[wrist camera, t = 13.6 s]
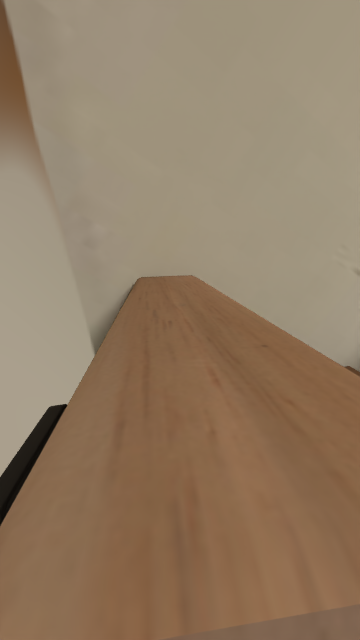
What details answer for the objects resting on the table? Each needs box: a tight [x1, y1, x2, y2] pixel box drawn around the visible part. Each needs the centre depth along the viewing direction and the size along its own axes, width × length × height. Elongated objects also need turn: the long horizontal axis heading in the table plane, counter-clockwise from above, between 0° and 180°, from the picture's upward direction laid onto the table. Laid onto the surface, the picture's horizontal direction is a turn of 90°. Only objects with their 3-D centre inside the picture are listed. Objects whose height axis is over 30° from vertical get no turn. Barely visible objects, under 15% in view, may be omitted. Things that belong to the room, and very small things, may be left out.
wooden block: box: [0, 275, 360, 640], centre depth 11 cm, size 9×4×18 cm, turn 2°
